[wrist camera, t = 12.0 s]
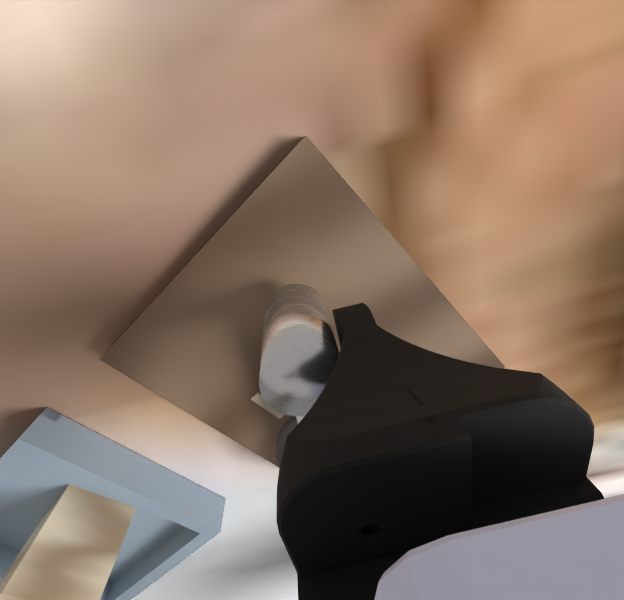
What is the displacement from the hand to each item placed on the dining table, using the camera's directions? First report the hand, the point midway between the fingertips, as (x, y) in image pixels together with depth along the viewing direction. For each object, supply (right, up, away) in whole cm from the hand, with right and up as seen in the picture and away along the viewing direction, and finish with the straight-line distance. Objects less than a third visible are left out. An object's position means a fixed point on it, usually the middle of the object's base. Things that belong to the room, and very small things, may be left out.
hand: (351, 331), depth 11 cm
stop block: (-15, -12, +8) cm, 21 cm away
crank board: (-1, -2, +5) cm, 6 cm away
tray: (-15, -12, +9) cm, 21 cm away
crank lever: (-1, -3, +4) cm, 5 cm away
